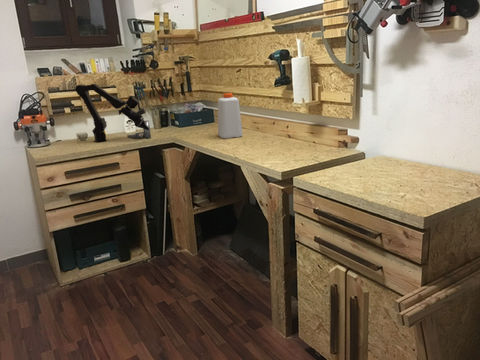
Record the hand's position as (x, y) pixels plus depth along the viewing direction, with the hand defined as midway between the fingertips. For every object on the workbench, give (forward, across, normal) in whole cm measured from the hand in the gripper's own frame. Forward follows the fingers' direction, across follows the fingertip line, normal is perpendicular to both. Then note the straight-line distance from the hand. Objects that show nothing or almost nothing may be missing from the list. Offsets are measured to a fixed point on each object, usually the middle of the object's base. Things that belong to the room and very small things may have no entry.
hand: (148, 128), depth 270 cm
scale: (-1, +9, +10) cm, 14 cm away
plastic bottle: (+42, -20, -32) cm, 57 cm away
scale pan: (-2, +10, +9) cm, 14 cm away
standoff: (+4, 0, +6) cm, 7 cm away
